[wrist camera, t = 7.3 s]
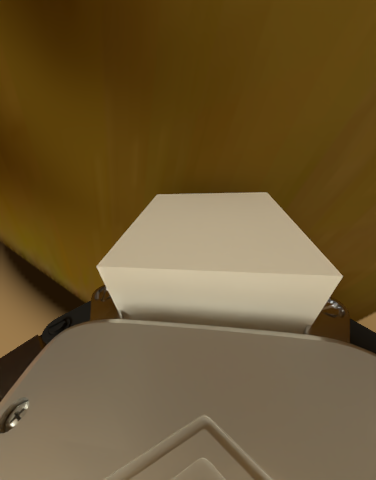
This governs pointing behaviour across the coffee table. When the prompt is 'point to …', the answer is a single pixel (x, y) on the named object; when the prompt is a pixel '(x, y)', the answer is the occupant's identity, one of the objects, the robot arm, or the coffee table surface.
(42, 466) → the robot arm
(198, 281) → the cream matte cube
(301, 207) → the coffee table surface
